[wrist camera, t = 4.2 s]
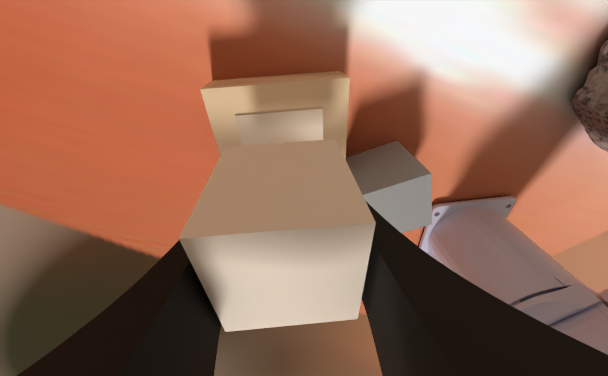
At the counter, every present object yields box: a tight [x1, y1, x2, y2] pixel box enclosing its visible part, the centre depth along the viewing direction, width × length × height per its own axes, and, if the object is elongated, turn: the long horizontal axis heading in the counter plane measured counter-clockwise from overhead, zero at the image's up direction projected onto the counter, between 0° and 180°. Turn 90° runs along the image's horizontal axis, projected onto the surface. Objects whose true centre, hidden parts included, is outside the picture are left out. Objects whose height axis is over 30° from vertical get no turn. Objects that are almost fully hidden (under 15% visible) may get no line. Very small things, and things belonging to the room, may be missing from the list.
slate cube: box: [346, 140, 432, 233], centre depth 17 cm, size 4×4×5 cm
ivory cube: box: [179, 139, 376, 332], centre depth 9 cm, size 4×4×5 cm
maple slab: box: [200, 71, 350, 160], centre depth 16 cm, size 8×8×3 cm
